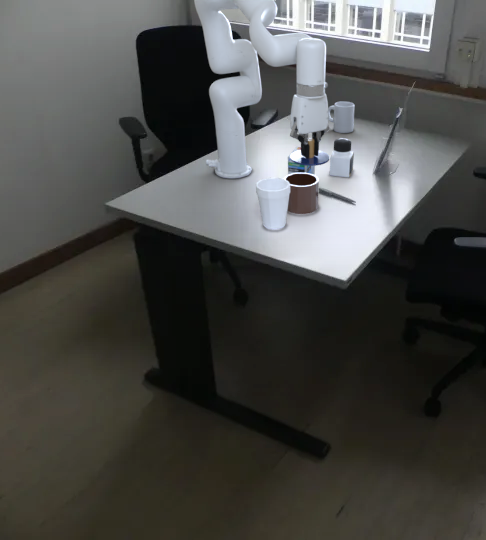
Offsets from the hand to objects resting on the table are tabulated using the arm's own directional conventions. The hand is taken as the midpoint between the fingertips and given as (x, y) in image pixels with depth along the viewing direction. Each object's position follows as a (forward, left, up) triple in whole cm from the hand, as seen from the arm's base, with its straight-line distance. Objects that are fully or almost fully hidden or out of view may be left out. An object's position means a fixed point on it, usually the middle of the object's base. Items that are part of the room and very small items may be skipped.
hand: (309, 155), depth 151 cm
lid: (0, 0, -1) cm, 1 cm away
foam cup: (-10, -8, -19) cm, 23 cm away
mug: (+14, +80, -19) cm, 83 cm away
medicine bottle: (+12, +32, -19) cm, 39 cm away
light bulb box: (-2, +23, -19) cm, 30 cm away
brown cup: (-2, +4, -19) cm, 19 cm away
